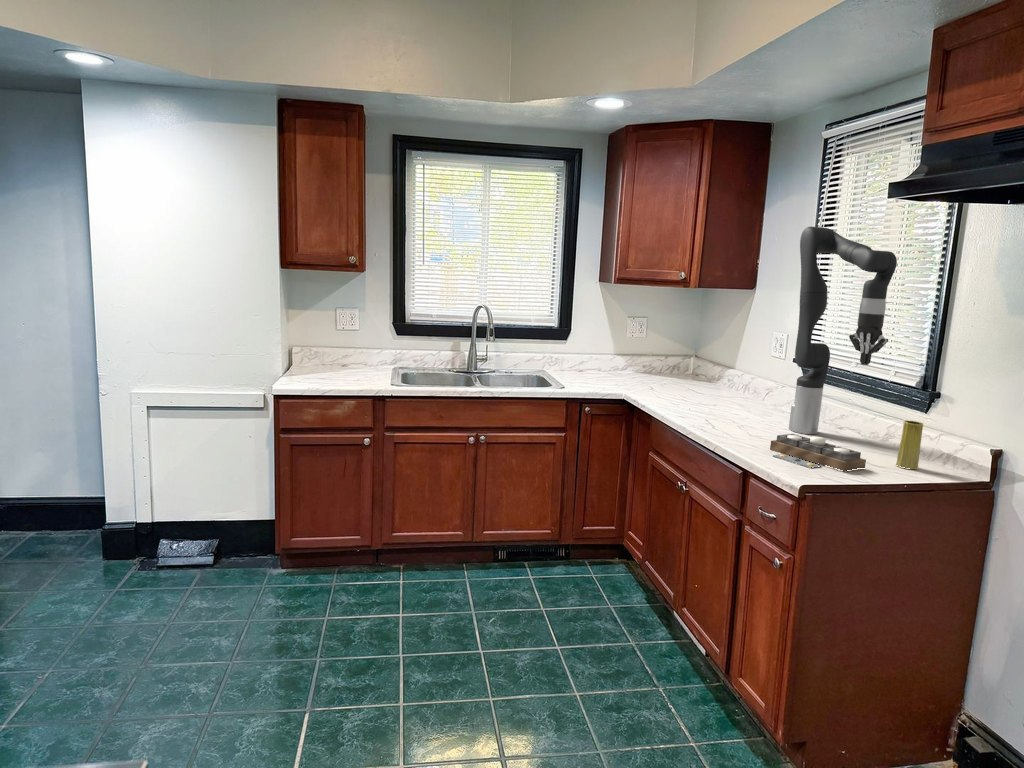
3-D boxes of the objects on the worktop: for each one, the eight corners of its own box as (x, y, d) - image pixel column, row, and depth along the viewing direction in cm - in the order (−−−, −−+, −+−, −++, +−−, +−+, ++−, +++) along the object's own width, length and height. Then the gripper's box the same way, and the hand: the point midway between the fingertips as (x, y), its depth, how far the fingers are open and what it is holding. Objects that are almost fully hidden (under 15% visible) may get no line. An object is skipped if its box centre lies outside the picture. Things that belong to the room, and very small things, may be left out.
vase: (910, 464, 218) (917, 420, 215) (922, 470, 211) (929, 425, 209) (891, 464, 217) (898, 419, 215) (903, 469, 211) (909, 424, 209)
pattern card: (772, 456, 219) (772, 454, 219) (783, 455, 221) (783, 453, 221) (810, 468, 207) (811, 466, 207) (821, 466, 209) (821, 465, 209)
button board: (769, 449, 227) (771, 434, 227) (790, 447, 232) (791, 432, 232) (844, 472, 204) (846, 456, 204) (864, 469, 209) (867, 453, 209)
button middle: (806, 443, 218) (807, 436, 218) (815, 441, 221) (816, 435, 220) (818, 446, 215) (819, 440, 214) (827, 445, 217) (828, 439, 217)
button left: (783, 441, 226) (784, 435, 226) (792, 440, 228) (793, 434, 228) (795, 444, 222) (795, 438, 222) (804, 443, 224) (804, 437, 224)
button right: (829, 454, 211) (830, 448, 211) (839, 453, 214) (839, 447, 213) (842, 458, 208) (843, 452, 207) (852, 457, 210) (852, 450, 210)
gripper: (898, 314, 223) (890, 367, 226) (860, 311, 234) (853, 361, 237) (884, 314, 219) (876, 368, 222) (846, 310, 230) (839, 362, 233)
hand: (864, 364), depth 229 cm, fingers closed
